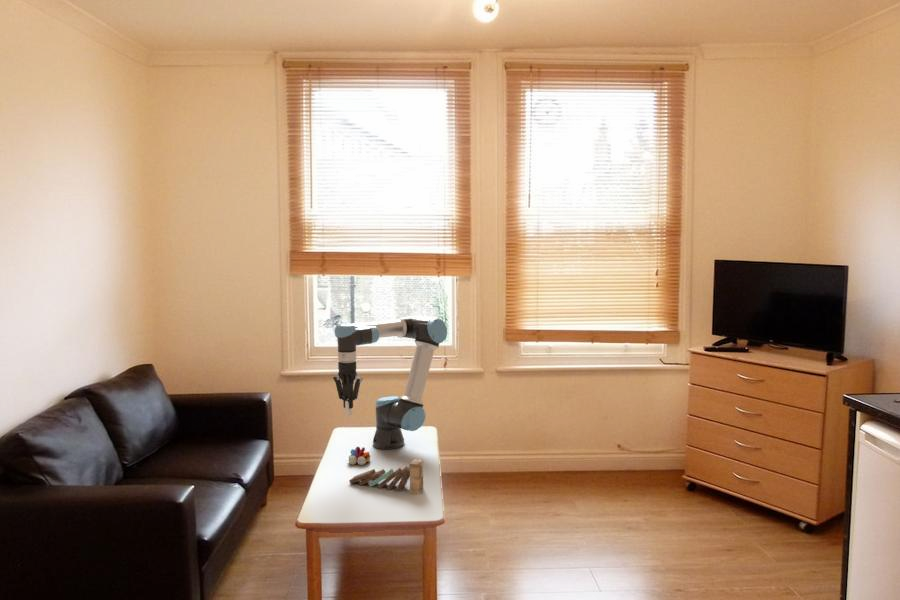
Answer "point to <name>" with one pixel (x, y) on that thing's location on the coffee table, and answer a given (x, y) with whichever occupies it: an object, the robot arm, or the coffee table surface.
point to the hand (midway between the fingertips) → (348, 415)
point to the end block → (416, 476)
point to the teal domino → (381, 477)
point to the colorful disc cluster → (359, 456)
